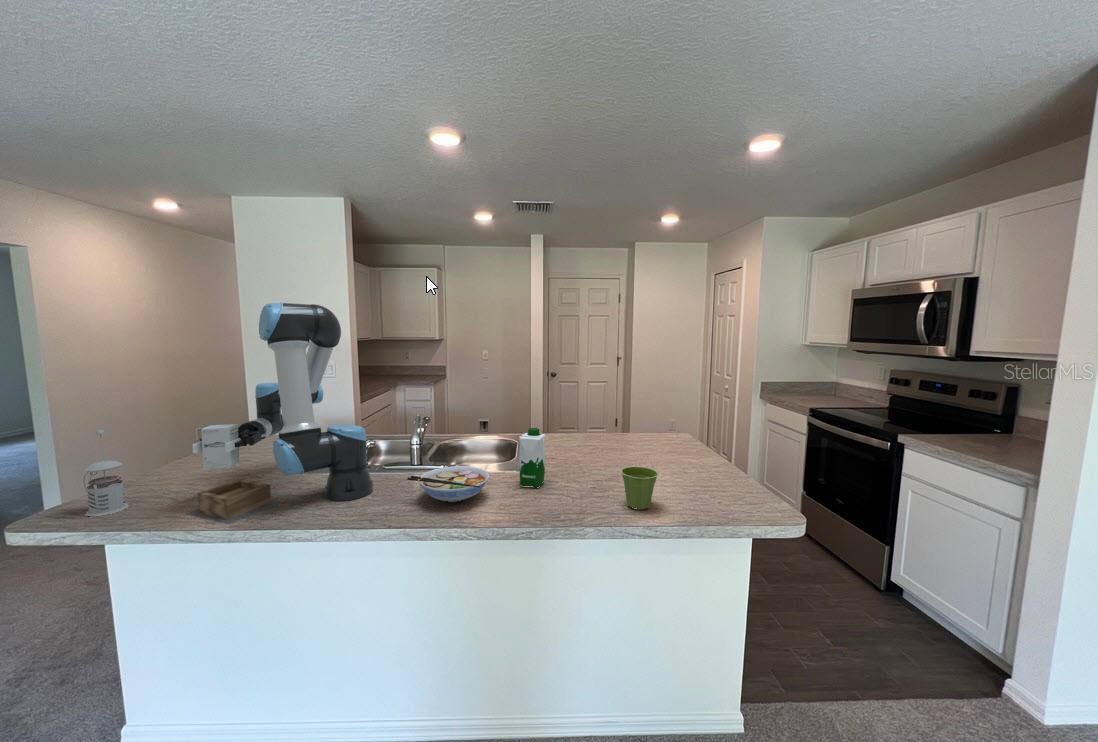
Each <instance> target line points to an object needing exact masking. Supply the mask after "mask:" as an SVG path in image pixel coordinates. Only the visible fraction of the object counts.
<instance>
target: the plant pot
mask: <svg viewBox="0 0 1098 742" xmlns="http://www.w3.org/2000/svg"><path fill="white" fill-rule="evenodd" d="M620 473H621V474H622V480H623V485H624V492H625V499H626V500H625V501H626V505H628V506H630V507H629V508H631V507H633V508H637V509H645V508H646V509H647V508H648V507H649V508H650V507H651V502H652V497H653V494H654V493H653V492H654V489H655V483H656V481H657V477H658V476H659V472H658V471H657V470H655V469H653V468H648V467H644V466H637V465H636V466H632V465H631V466H624V467H623V468H621V469H620ZM628 506H627V507H628ZM649 508H648V509H649ZM646 509H645V510H646Z"/></svg>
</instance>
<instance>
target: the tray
mask: <svg viewBox="0 0 1098 742" xmlns="http://www.w3.org/2000/svg"><path fill="white" fill-rule="evenodd" d="M197 499H198V500H197V501H198V509H199V513H203V514H207V515H211V516H215V517H220V518H224V519H228V520H229V519H231V518H234V517H236V516H239V515H242V514H244V513H247V512H249V511H252V510H254V509H257V508H259V507H262V506H264V505H267V504H270V503H271V499H272V495H271V484H268V483H264V482H258V481H253V480H247V479H243V478H242V479H239V480H235V481H232V482H230V483H229V482H228V483H226V484H222V485H219V486H216V487H214V488H210V489H207V490H203V491H201V492H198V493H197Z"/></svg>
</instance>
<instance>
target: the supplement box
mask: <svg viewBox="0 0 1098 742" xmlns="http://www.w3.org/2000/svg"><path fill="white" fill-rule="evenodd" d="M238 428H239V424H238V423H231V424H230V423H229V424H213V425H212V424H210V425H208V426H205V427H203V428H201V430H200V431H201V434H200V435H201V438H202V451H201V452H202V469H203V471H205V470H215V469H232V468H233V467H235V466H236V465H238V464H239V463H240V447H239V448H237V449H235V450H232V451H230V452H225V443H228V442H230V441H233V440H235V439H238Z"/></svg>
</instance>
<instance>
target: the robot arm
mask: <svg viewBox="0 0 1098 742" xmlns="http://www.w3.org/2000/svg"><path fill="white" fill-rule="evenodd" d="M258 335H259V338H260V339H261V341H266V343H267V347H268V348H269V349H271V350H272V351H273V352H274V360H275V369H276V370H275V371H276V377H277V382H262V383H258V384H256V385H255V406H256V418H255V419H251V420H250V421H247V422H243V423H241V424H240V425H238V439H235V440H233V441H230V442H228V443H225V452H230V451H232V450H235V449H237V448H239V449H240V448H241V447H247V446H248V445H249V446H251V447H252V446H254V445H256V444H258V443H259V442H261V441H263V440H266V439H267V438H268V437H271V436H273V435H277V434H278V438H276V439H275V440H274V441H273V442H272V451H273V456H274V460H275V462H276V463H275V464H276V465H277V466H278V469H279V470H280V472H281V473H282V474H284V475H286V476H295V475H304V474H305V473H310V472H315V471H319V470H323V469H324V470H325V469H327V468H328V470H329V474H328V477H327V481H326V485H325V486H324V491H323V492H324V493H323V494H324V498H325V499H328V500H329V501H335V502H336V501H337V502H339V501H340V502H341V501H343V502H344V501H353V500H356V499H360V498H364V497H366V496H369V495H371V493H372V492H373V491H374V483H373V480H372V478H371V474H370V472H369V469H368V456H367V455H368V453H367V451H368V449H367V440H368V439H367V435H366V430H365V428H364V427H363V426H360V425H353V424H332V425H329V426H328V427H327V429H326V431H323V432H322V428H321V425H319V424H317V423H316V422H315V415H314V408H313V405H314V404H318V403H319V404H320V403H321V402H323V399H324V389H323V387H322V386H321V384H322V381H323V377H324V375H325V372H326V370H327V367H328V364H329V361H330V359H331V356H332V353H333V351H334V348H336V347H337V346H338V345H339V342H340V340H341V337H342V328H341V324H340V321H339V319H338V317H337V316H336V315H335V314H334V313H333V311H331V310H330V309H329V308H327V307H326V306H323V305H320V304H314V303H313V304H308V303H307V304H305V303H292V302H291V303H289V302H276V303H275V302H270V303H266V304H265V305H264V306H263V307H262V309H261V312H260V316H259V321H258ZM306 349H307V351H306ZM200 452H202V437H200V438H199V441H198V442H195V443H193V444H192V454H198V453H200Z"/></svg>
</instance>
